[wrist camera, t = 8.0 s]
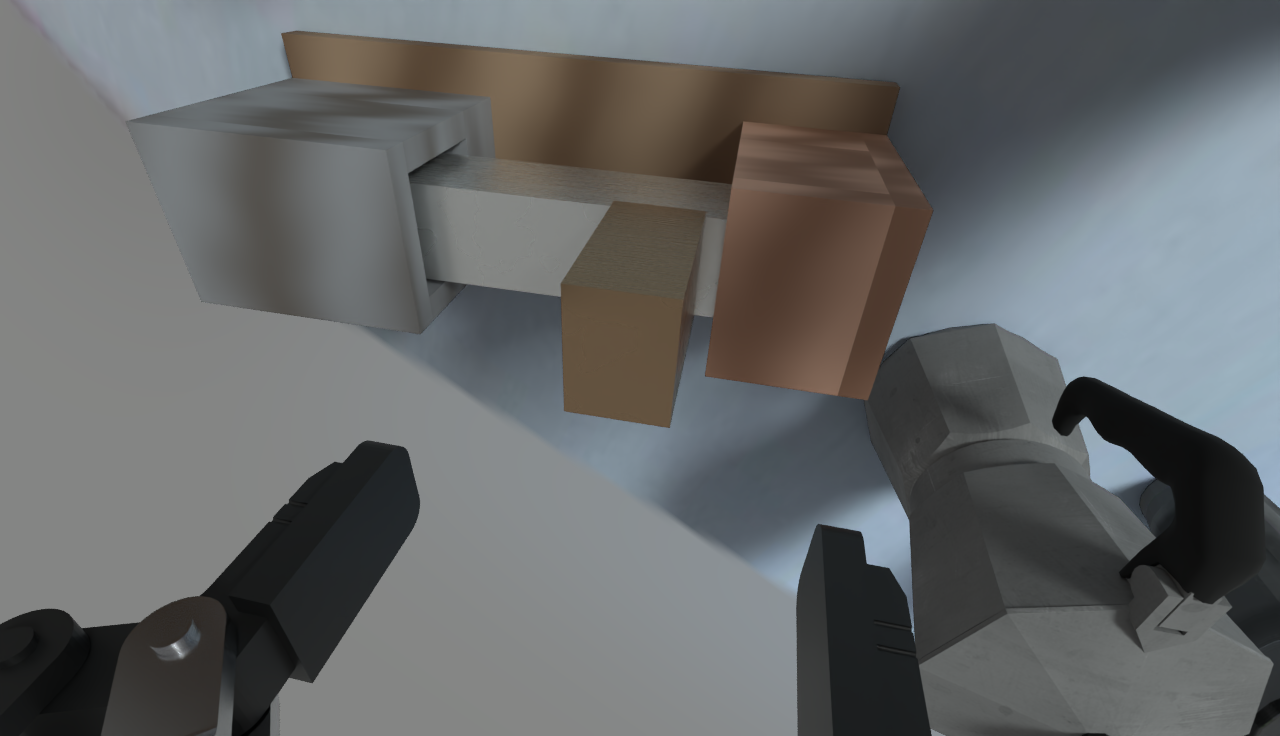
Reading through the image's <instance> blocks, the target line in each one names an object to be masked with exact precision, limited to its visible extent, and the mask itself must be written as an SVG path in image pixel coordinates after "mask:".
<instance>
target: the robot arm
mask: <svg viewBox="0 0 1280 736" xmlns="http://www.w3.org/2000/svg"><path fill="white" fill-rule="evenodd" d="M419 509H420V498H419V494H418V490H417V486H416V482H415V478H414V474H413V470H412V466H411V462H410V458H409V454H408V451H407V450H406V449H405V448H404V447H401V446H396V445H390V444H385V443H379V442H374V441H364V442H362V443H361V444H359V445H358V446H357V447H356V449H355V450H354V451H353V452H352V453H351V454H350V456H349V457H348V458H347V459H346V460H345V461H344V462H343V463H338V462H334V463H332V464H330V465H329V466H327V467H326V468H324V469H323V470H321V471H319V472H318V473H316V474H315V475H313V476H311V477H310V478H308V480H307V481H306V482H305V483H304V484H303V485H302V486H301V487H300V488H299V489H298V490H297V492H296V493H295V494H294V495H293V496H292V497H291V498H290V499H289V503H288V504H285V505H284V506H283V507H282V508H281V509H280V510H279V511H278V512H277V514H276V515H275V516H274V517H273V521H272V522H268V523H267V524H266V526H265V527H264V528H263V529H262V530H261V531H260V532H259V533H258V534H257V535H256V537H255V538H254V539H253V540H252V541H251V542H250V543H249V544H248V545H247V547H246V548H245V549H244V550H243V551H242V552H241V553H240V554H239V555H238V556H237V557H236V559H235V560H234V561H233V562H232V563H231V564H230V565H229V566H228V567H227V568H226V569H225V571H224V572H223V573H222V574H221V575H220V576H219V577H218V578H217V579H216V580H215V582H214V583H213V584H212V585H211V586H210V587H209V588H208V589H207V590H206V591H205V592H204V593H203V594H201V595H200V596H195V597H188V598H184V599H180V600H177V601H174V602H171V603H169V604H167V605H165V606H163V607H161V608H159V609H158V610H156V611H154V612H153V613H151V614H150V615H149V616H147V617H146V618H145V619H143V620H142V621H141V622H139V623H130V624H120V625H110V626H100V627H90V628H81V627H80V626H79V625H78V624H77V623H76V622H75V620H73V618H72V617H71V616H70V615H69V614H68V613H66V612H65V611H62V610H58V609H41V610H36V611H31V612H28V613H25V614H22V615H19V616H17V617H15V618H12V619H10V620H8V621H6V622H4V623H2V624H0V736H279V735H280V730H279V729H280V703H279V697H278V693H279V691H280V690H281V688H282V687H283V686H284V684H285V682H286V681H287V679H288V678H293V679H298V680H301V681H305V682H309V683H313V682H314V680H315V679H316V677H317V676H318V674H319V672H320V671H321V669H322V668H323V666H324V665H325V663H326V662H327V660H328V659H329V657H330V655H331V654H332V652H333V651H334V649H335V648H336V646H337V645H338V643H339V642H340V640H341V639H342V637H343V635H344V634H345V632H346V631H347V629H348V628H349V626H350V625H351V623H352V622H353V620H354V619H355V617H356V616H357V614H358V612H359V611H360V609H361V608H362V606H363V605H364V603H365V602H366V600H367V599H368V597H369V596H370V594H371V593H372V591H373V589H374V588H375V586H376V585H377V583H378V582H379V580H380V579H381V577H382V576H383V574H384V573H385V571H386V569H387V568H388V566H389V565H390V563H391V562H392V560H393V559H394V557H395V556H396V554H397V553H398V551H399V549H400V548H401V546H402V544H403V543H404V542H405V540H406V539H407V537H408V536H409V534H410V532H411V531H412V529H413V528H414V525H415V523H416V520H417V518H418V514H419ZM796 616H797V702H798V703H797V708H798V736H932V735H931V730H930V724H929V719H928V713H927V707H926V702H925V696H924V691H923V685H922V680H921V674H920V669H919V663H918V659H917V658H916V647H915V641H914V636H913V633H912V632H911V629H912V625H911V619H910V614H909V608H908V603H907V597H906V595H905V594H904V592H903V590H902V589H901V587H900V585H899V584H898V582H897V580H896V579H895V577H894V575H893V574H892V572H891V570H890V569H889V568H885V567H880V566H875V565H869V564H867V563H866V555H865V547H864V540H863V536H862V533H861V532H860V531H855V530H849V529H844V528H838V527H833V526H827V525H822V524H818V525H817V526H816V528H815V531H814V534H813V537H812V540H811V544H810V547H809V550H808V553H807V556H806V559H805V562H804V565H803V568H802V572H801V575H800V579H799V585H798V592H797V607H796Z"/></svg>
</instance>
